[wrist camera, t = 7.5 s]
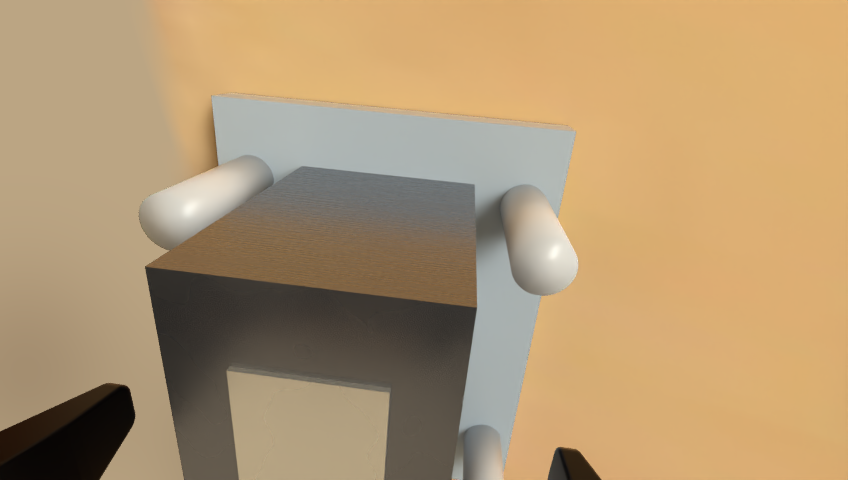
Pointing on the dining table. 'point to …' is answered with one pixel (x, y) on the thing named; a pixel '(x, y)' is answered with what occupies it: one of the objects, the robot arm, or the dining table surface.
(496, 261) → the tray
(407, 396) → the block
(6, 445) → the robot arm
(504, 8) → the dining table surface
